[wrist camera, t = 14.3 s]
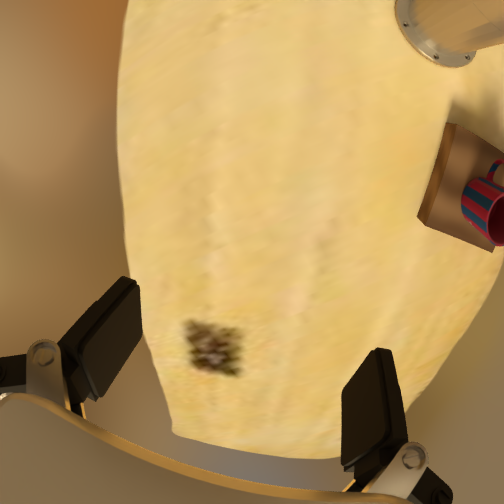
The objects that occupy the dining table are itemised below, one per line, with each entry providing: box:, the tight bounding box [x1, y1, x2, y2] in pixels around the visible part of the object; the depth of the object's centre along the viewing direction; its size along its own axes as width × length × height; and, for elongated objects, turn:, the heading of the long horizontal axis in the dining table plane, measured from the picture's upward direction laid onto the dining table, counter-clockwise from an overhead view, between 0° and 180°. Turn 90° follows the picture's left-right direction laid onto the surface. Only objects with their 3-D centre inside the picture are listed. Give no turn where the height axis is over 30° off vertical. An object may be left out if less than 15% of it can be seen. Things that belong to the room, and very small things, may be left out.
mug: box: [461, 159, 504, 246], centre depth 24 cm, size 7×10×7 cm
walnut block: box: [417, 123, 504, 253], centre depth 29 cm, size 14×14×4 cm
